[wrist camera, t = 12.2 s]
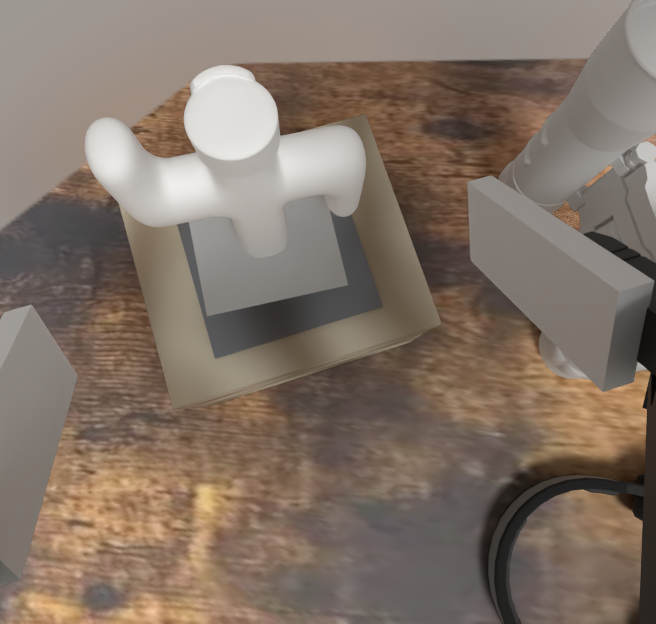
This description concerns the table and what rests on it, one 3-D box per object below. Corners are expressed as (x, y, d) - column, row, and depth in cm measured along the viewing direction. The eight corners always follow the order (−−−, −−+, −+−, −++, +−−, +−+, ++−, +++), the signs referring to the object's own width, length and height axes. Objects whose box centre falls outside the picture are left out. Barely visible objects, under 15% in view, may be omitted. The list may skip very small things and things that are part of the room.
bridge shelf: (355, 168, 39) (366, 111, 32) (415, 340, 37) (443, 323, 29) (151, 226, 38) (111, 181, 30) (201, 409, 36) (171, 409, 28)
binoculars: (616, 374, 37) (893, 344, 20) (546, 392, 37) (764, 379, 19) (541, 160, 40) (723, -34, 22) (476, 175, 40) (608, -11, 22)
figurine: (362, 295, 30) (412, 185, 15) (200, 331, 29) (85, 253, 14) (333, 181, 31) (354, -25, 16) (177, 213, 30) (51, 28, 15)
